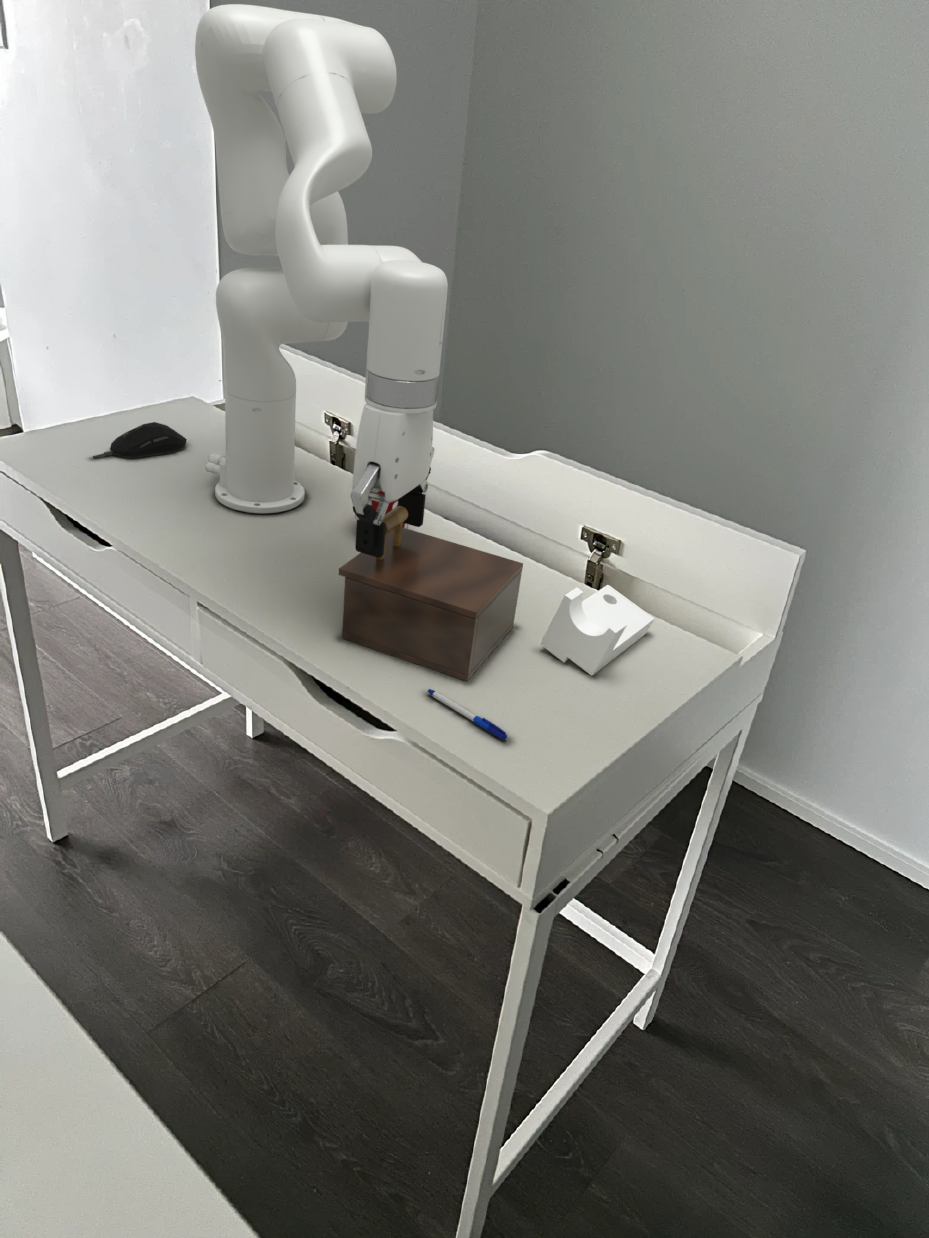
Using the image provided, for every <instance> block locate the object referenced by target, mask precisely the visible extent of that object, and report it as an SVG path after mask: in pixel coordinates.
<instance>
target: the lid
mask: <svg viewBox="0 0 929 1238" xmlns="http://www.w3.org/2000/svg"><path fill="white" fill-rule="evenodd" d="M407 518H408V511H407V510H406V508H405V507H403V506H397V507H396V508H394V509H393V510H391V511H390V512H388V513H387V514H386V515H384V518H383V521H382V522H383V523H386V528H385V541H384V554H383V556H381V557H380V558H377V557H374V556H371V555H367V554H364V553H361V552H358V554H357V555H355V556H354V557H353V558H351V559H350V560H349V561H347V562H345V563H344V564H343V565H342V566H340V567H339V568H338V576H341V577H344V578H345V577H347V578H350V579H353V580H356V581H359V582H362V583H366V584H369V585H372V586H375V587H378V588H381V589H384V590H387V591H390V592H394V593H397V594H400V595H403V596H406V597H409V598H412V599H415V600H418V601H421V602H425V603H428V604H431V605H434V606H437V607H440V608H443V609H446V610H449V611H453V612H456V613H459V614H462V615H465V616H468V617H471V618H474V619H476V618H477V617H478V616H479V615H480V614H481V613H482V612H483V611H484V609H485V608H486V607H487V606H488V605H489V604H490V603H491V602H492V601H493V600H494V599H495V598H496V597H497V596H498V595H499V594H500V593H501V591H502V590H503V589H504V588H505V587H506V586H507V585H508V584H509V583H510V582H511V581H512V580H513V579H514V578H515V577H516V576H517V574H518V573H519V572H520V571H521V570H522V571H523V570H524V569H523V568H524V563H523V562H521V561H517V560H514V559H510V558H507V557H503V556H500V555H496V554H493V553H490V552H487V551H483V550H479V549H476V548H473V547H469V546H467V545H463V544H460V543H456V542H453V541H450V540H446V539H443V538H439V537H437V536H433V535H429V534H426V533H423V532H419V531H416V530H413V529H409V528H407V529H406V528H403V527H402V524H403V522H404V521H405V520H406V519H407Z"/></svg>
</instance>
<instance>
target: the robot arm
mask: <svg viewBox="0 0 929 1238" xmlns="http://www.w3.org/2000/svg"><path fill="white" fill-rule="evenodd" d="M194 56H195V58H194V59H195V67H196V74H197V75H196V76H197V79H198V84H199V87H200V91H201V94H202V97H203V101H204V103H205V106H206V109H207V113H208V115H209V119H210V122H211V126H212V130H213V136H214V144H215V155H216V170H217V180H218V182H217V183H218V194H219V206H220V218H221V225H222V231H223V232H222V233H223V235H224V239H225V241H226V243H227V245H228V247H230V248H231V249H232V250H233V251H234V252H236V253H239V254H242V255H248V256H257V257H278V259H279V262H280V266H253V267H243V268H237V269H235V270H232V271H229V272H228V273H226V274H225V275H223V277H222V278H221V279H220V280H219V282H218V284H217V286H216V290H215V308H216V314H217V320H218V323H219V324H218V325H219V331H220V335H221V344H222V352H223V353H222V354H223V369H224V418H225V419H224V420H225V421H224V422H225V423H224V425H225V427H224V428H225V430H224V431H225V432H224V433H225V456H224V455H221V454H218V453H214V452H213V453H211V454H210V455H209V456H208V460H207V462H206V464H205V471H206V472H209V473H211V474H216V475H218V476H219V481H218V482H217V483H216V484H215V487H214V495H215V498H216V500H217V501H218V502H219V504H222V505H223V506H225V507H227V508H229V509H232V510H235V511H239V512H242V513H248V514H249V513H251V514H277V513H282V512H287V511H290V510H292V509H295V508H297V507H299V506H300V505H302V503H303V502H304V500H305V495H306V494H305V488H304V486H303V485H302V484H301V483H300V482H298V481H297V480H295V454H296V453H295V452H296V448H295V447H296V445H295V444H296V407H297V405H296V403H297V377H296V374H295V371H294V369H293V366H292V365H291V363H290V362H288V360H287V359H286V358H285V357H284V355H283V353H282V352H281V350H280V346H281V345H286V344H287V345H288V344H289V345H290V344H297V343H298V344H299V343H300V344H301V343H316V342H328V341H332V340H335V339H338V338H339V337H341V336H342V335H343V334H344V332H345V331H346V329H347V327H348V324H349V323H353V322H354V323H357V322H359V323H360V322H368V336H367V349H366V351H367V352H366V368H365V383H364V384H365V385H364V386H365V387H364V402H365V404H364V405H363V409H362V412H361V417H360V421H359V425H358V430H357V438H356V445H355V452H354V460H353V461H354V462H353V470H352V471H353V473H352V490H351V491H350V500H351V502H352V512H353V513H354V519H355V520H356V526H355V527H356V528H355V530H356V531H355V544H354V545H355V551H356V552H358V553H364V554H367V555H371V556H374V557H377V558H380V557H381V556H383V554H384V541H385V528H386V523H383V522H382V521H383V518H384V515H385V513H386V510H387V508H388V505H389V503H391V502H393V501H395V500H397V499H398V506H403V507H405V508H406V510H407V511H408V518H407V519H406V520H405V521H404V522H403V523H406V524H408V526H409V525H410V526H413V527H416V528H420V527H422V526H423V525H424V517H425V507H426V496H427V495H426V493H427V492H428V488H429V483H428V478H429V476H430V474H431V473H432V472H431V471H432V467H431V465H432V461H433V458H434V454H435V447H433V438H434V435H433V434H434V410H435V409H436V408H437V403H438V394H439V393H438V392H439V383H440V371H441V363H442V362H441V360H442V353H443V351H442V350H443V340H444V331H445V321H446V311H447V300H448V298H447V297H448V288H449V284H448V283H449V281H448V278H447V275H446V273H445V271H443V270H442V269H441V268H440V267H438V266H436V265H433V264H430V263H427V262H422V260H421V259H420V258H419V257H418V256H417V255H416V254H415V253H414V252H413V251H411V250H410V249H408V248H406V247H403V246H398V245H372V244H371V245H368V244H349V234H348V232H349V231H348V219H347V212H346V208H345V204H344V202H343V199H342V196H341V195H340V193H339V191H341V190H343V189H345V188H347V187H349V186H351V185H352V184H354V183H355V182H356V181H358V180H359V179H361V178H362V176H363V175H364V174H365V173H366V172H367V170H368V169H369V167H370V165H371V162H372V160H373V159H372V158H373V148H372V143H371V140H370V137H369V133H368V131H367V128H366V125H365V122H364V121H365V120H364V118H363V115H362V114H369V115H370V114H380V113H381V112H383V111H384V110H386V109H387V108H388V107H389V106H390V104H391V103H392V101H393V98H394V96H395V93H396V88H397V78H398V76H397V73H398V72H397V66H396V65H397V64H396V60H395V57H394V54H393V51H392V48H391V46H390V44H389V43H388V41H387V39H386V38H385V37H384V36H383V35H382V34H381V32H379V31H377V29H375V28H374V27H373V28H372V27H369V26H364V25H360V24H357V23H354V22H350V21H348V20H344V19H341V18H337V17H333V16H327V15H321V14H314V13H308V12H302V11H301V12H300V11H293V10H287V9H281V8H275V7H270V6H269V7H268V6H261V5H253V4H244V3H243V4H242V3H231V4H230V3H228V4H220V5H217V6H213V7H211V8H210V9H208V10H207V11H206V12H204V13H203V14H202V16H201V17H200V20H199V22H198V24H197V28H196V33H195V42H194ZM259 92H269V93H271V95H272V98H273V100H274V104H275V107H276V111H277V114H278V118H279V120H280V121H279V120H278V118H277V116H276V114H275V113H274V111H273V109H272V108H271V107H270V105H269V104H268V103H267V102H266V100H265V99H264V98H263V97H262V96H261V94H259ZM286 144H287V145H286ZM287 147H288V150H289V153H290V156H291V159H292V162H293V166H294V168H293V169H292V171H291V173H289V170H288V165H287V164H288V163H287ZM373 488H374V489H377V490H380V491H383V492H385V494H384V495H382V494H378V493H375V492H372V490H373ZM370 499H371V500H374V501H378V502H380V503H379V506H378V508H377V511H375V510H374V508H373V507H372V505H369V502H370Z"/></svg>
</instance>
